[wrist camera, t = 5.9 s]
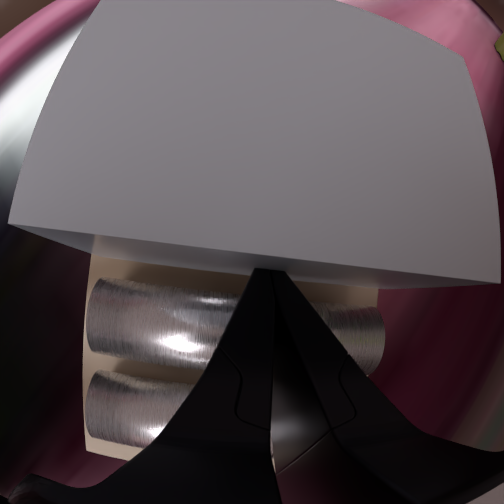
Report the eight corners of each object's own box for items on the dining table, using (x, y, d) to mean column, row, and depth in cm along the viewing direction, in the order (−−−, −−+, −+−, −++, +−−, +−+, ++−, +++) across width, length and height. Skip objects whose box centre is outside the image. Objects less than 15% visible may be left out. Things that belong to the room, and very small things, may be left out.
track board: (341, 458, 17) (348, 466, 16) (92, 442, 15) (86, 450, 13) (370, 148, 20) (379, 141, 18) (131, 111, 17) (128, 101, 16)
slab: (385, 289, 13) (500, 283, 6) (100, 256, 11) (8, 223, 5) (384, 127, 14) (463, 57, 8) (141, 85, 12) (116, -22, 6)
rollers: (334, 437, 16) (360, 463, 12) (108, 421, 14) (87, 449, 10) (359, 155, 18) (388, 130, 14) (145, 121, 16) (134, 86, 13)
